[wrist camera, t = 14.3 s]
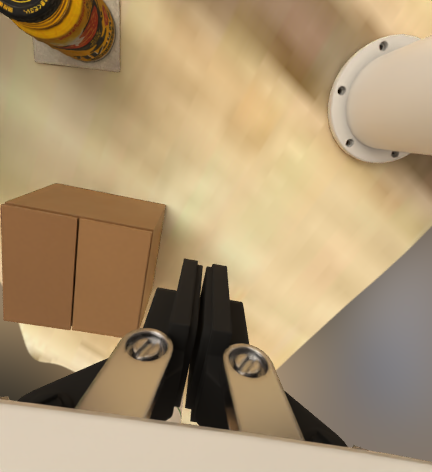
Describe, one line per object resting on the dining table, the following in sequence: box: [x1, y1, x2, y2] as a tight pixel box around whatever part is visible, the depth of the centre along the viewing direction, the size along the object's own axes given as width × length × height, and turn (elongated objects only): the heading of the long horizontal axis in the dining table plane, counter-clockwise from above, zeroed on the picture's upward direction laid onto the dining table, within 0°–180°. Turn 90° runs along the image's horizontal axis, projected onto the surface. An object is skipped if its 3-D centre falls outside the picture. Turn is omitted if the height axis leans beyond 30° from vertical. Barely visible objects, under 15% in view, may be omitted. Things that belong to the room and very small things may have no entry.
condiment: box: [0, 0, 120, 72], centre depth 24 cm, size 7×8×12 cm
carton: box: [1, 183, 166, 330], centre depth 32 cm, size 13×12×10 cm
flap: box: [72, 218, 152, 338], centre depth 28 cm, size 6×12×1 cm, turn 168°
